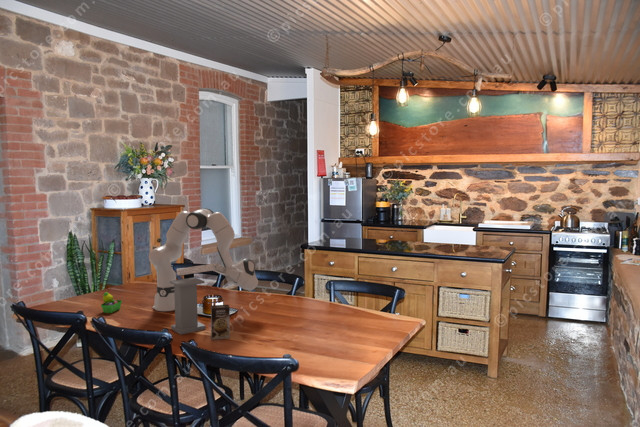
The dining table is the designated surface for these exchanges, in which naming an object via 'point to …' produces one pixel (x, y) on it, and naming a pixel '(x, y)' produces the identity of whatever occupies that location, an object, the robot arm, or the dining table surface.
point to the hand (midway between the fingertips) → (213, 266)
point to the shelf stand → (186, 306)
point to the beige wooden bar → (197, 269)
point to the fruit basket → (110, 303)
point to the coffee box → (220, 322)
